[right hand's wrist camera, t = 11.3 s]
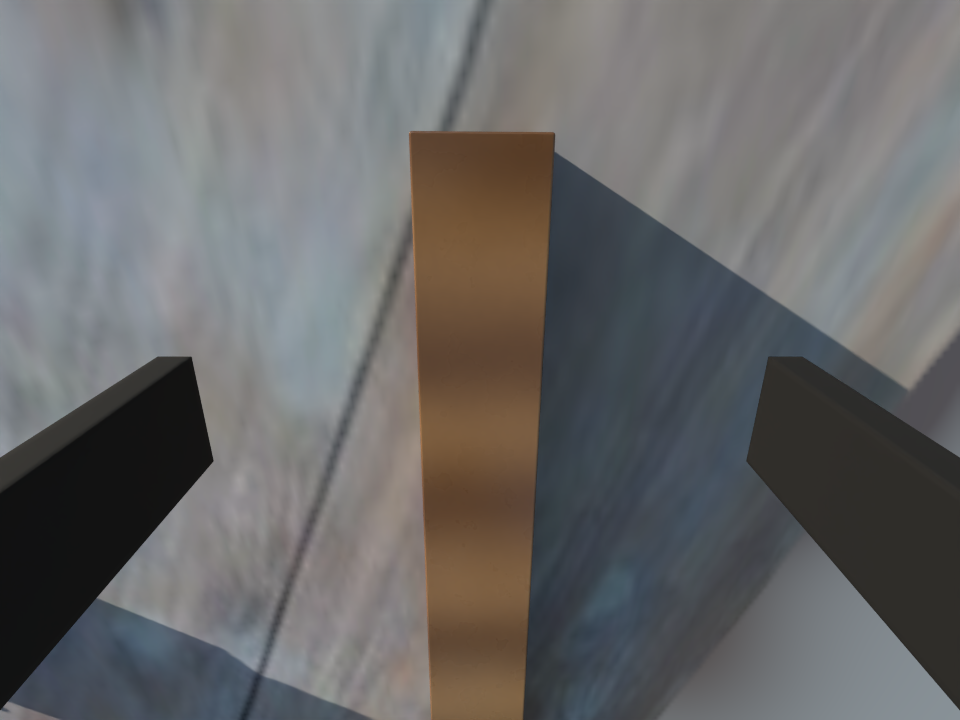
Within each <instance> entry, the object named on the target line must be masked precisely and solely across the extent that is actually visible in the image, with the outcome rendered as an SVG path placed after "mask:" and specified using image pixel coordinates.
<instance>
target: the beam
mask: <svg viewBox="0 0 960 720" xmlns="http://www.w3.org/2000/svg"><path fill="white" fill-rule="evenodd" d="M409 146H410V172H411V199H412V225H413V252H414V278H415V305H416V331H417V357H418V384H419V410H420V437H421V463H422V490H423V516H424V542H425V569H426V595H427V622H428V648H429V675H430V701H431V720H523V718H524V700H525V681H526V663H527V644H528V626H529V608H530V589H531V571H532V553H533V534H534V516H535V497H536V479H537V461H538V442H539V424H540V406H541V387H542V369H543V350H544V332H545V314H546V295H547V277H548V258H549V240H550V222H551V203H552V185H553V167H554V148H555V133H553V132H452V131H411V132H410V133H409Z"/></svg>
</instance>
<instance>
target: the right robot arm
mask: <svg viewBox="0 0 960 720" xmlns="http://www.w3.org/2000/svg"><path fill="white" fill-rule="evenodd" d="M212 462H213V456H212V451H211V447H210V442H209V437H208V432H207V428H206V423H205V418H204V414H203V409H202V404H201V399H200V395H199V390H198V385H197V381H196V376H195V371H194V366H193V362H192V357H157V358H155V359H153V360H152V361H150V362H149V363H147V364H146V365H144V366H142V367H141V368H139V369H138V370H136V371H135V372H133V373H132V374H130V375H128V376H127V377H125V378H124V379H122V380H121V381H119V382H118V383H116V384H114V385H113V386H111V387H110V388H108V389H107V390H105V391H103V392H102V393H100V394H99V395H97V396H96V397H94V398H93V399H91V400H89V401H88V402H86V403H85V404H83V405H82V406H80V407H79V408H77V409H75V410H74V411H72V412H71V413H69V414H68V415H66V416H64V417H63V418H61V419H60V420H58V421H57V422H55V423H54V424H52V425H50V426H49V427H47V428H46V429H44V430H43V431H41V432H39V433H38V434H36V435H35V436H33V437H32V438H30V439H29V440H27V441H25V442H24V443H22V444H21V445H19V446H18V447H16V448H15V449H13V450H11V451H10V452H8V453H7V454H5V455H4V456H2V457H0V710H1V709H2V707H3V706H4V705H5V704H6V703H7V702H8V700H9V699H10V698H11V697H12V696H13V695H14V693H15V692H16V691H17V690H18V689H19V688H20V686H21V685H22V684H23V683H24V682H25V681H26V679H27V678H28V677H29V676H30V675H31V674H32V672H33V671H34V670H35V669H36V668H37V667H38V665H39V664H40V663H41V662H42V661H43V660H44V658H45V657H46V656H47V655H48V654H49V653H50V651H51V650H52V649H53V648H54V647H55V646H56V644H57V643H58V642H59V641H60V640H61V639H62V637H63V636H64V635H65V634H66V633H67V632H68V630H69V629H70V628H71V627H72V626H73V625H74V623H75V622H76V621H77V620H78V619H79V618H80V616H81V615H82V614H83V613H84V612H85V611H86V609H87V608H88V607H89V606H90V605H91V604H92V602H93V601H94V600H95V599H96V598H97V597H98V595H99V594H100V593H101V592H102V591H103V590H104V588H105V587H106V586H107V585H108V584H109V583H110V581H111V580H112V579H113V578H114V577H115V576H116V574H117V573H118V572H119V571H120V570H121V569H122V567H123V566H124V565H125V564H126V563H127V562H128V560H129V559H130V558H131V557H132V556H133V555H134V553H135V552H136V551H137V550H138V549H139V548H140V546H141V545H142V544H143V543H144V542H145V541H146V539H147V538H148V537H149V536H150V535H151V534H152V532H153V531H154V530H155V529H156V528H157V527H158V525H159V524H160V523H161V522H162V521H163V520H164V518H165V517H166V516H167V515H168V514H169V513H170V511H171V510H172V509H173V508H174V507H175V506H176V504H177V503H178V502H179V501H180V500H181V499H182V497H183V496H184V495H185V494H186V493H187V492H188V490H189V489H190V488H191V487H192V486H193V485H194V483H195V482H196V481H197V480H198V479H199V478H200V476H201V475H202V474H203V473H204V472H205V471H206V469H207V468H208V467H209V466H210V465H211V464H212ZM747 462H748V464H749V465H750V466H751V467H752V468H753V469H754V471H755V472H756V473H757V474H758V475H759V476H760V478H761V479H762V480H763V481H764V482H765V483H766V485H767V486H768V487H769V488H770V489H771V490H772V492H773V493H774V494H775V495H776V496H777V497H778V499H779V500H780V501H781V502H782V503H783V504H784V506H785V507H786V508H787V509H788V510H789V511H790V513H791V514H792V515H793V516H794V517H795V518H796V520H797V521H798V522H799V523H800V524H801V525H802V527H803V528H804V529H805V530H806V531H807V532H808V534H809V535H810V536H811V537H812V538H813V539H814V541H815V542H816V543H817V544H818V545H819V546H820V548H821V549H822V550H823V551H824V552H825V553H826V554H827V556H828V557H829V558H830V559H831V560H832V562H833V563H834V564H835V565H836V566H837V567H838V569H839V570H840V571H841V572H842V573H843V574H844V576H845V577H846V578H847V579H848V580H849V581H850V583H851V584H852V585H853V586H854V587H855V588H856V590H857V591H858V592H859V593H860V594H861V595H862V597H863V598H864V599H865V600H866V601H867V602H868V604H869V605H870V606H871V607H872V608H873V609H874V611H875V612H876V613H877V614H878V615H879V616H880V618H881V619H882V620H883V621H884V622H885V623H886V624H887V626H888V627H889V628H890V629H891V630H892V632H893V633H894V634H895V635H896V636H897V637H898V639H899V640H900V641H901V642H902V643H903V644H904V646H905V647H906V648H907V649H908V650H909V651H910V653H911V654H912V655H913V656H914V657H915V658H916V660H917V661H918V662H919V663H920V664H921V665H922V667H923V668H924V669H925V670H926V671H927V672H928V674H929V675H930V676H931V677H932V678H933V679H934V681H935V682H936V683H937V684H938V685H939V686H940V688H941V689H942V690H943V691H944V692H945V693H946V695H947V696H948V697H949V698H950V699H951V700H952V702H953V703H954V704H955V705H956V706H957V707H958V709H959V710H960V458H959V457H958V456H956V455H955V454H953V453H952V452H950V451H949V450H947V449H945V448H944V447H942V446H941V445H939V444H938V443H936V442H934V441H933V440H931V439H930V438H928V437H927V436H925V435H924V434H922V433H921V432H919V431H917V430H916V429H914V428H913V427H911V426H910V425H908V424H906V423H905V422H903V421H902V420H900V419H899V418H897V417H896V416H894V415H892V414H891V413H889V412H888V411H886V410H885V409H883V408H881V407H880V406H878V405H877V404H875V403H874V402H872V401H871V400H869V399H867V398H866V397H864V396H863V395H861V394H860V393H858V392H857V391H855V390H853V389H852V388H850V387H849V386H847V385H846V384H844V383H842V382H841V381H839V380H838V379H836V378H835V377H833V376H832V375H830V374H828V373H827V372H825V371H824V370H822V369H821V368H819V367H818V366H816V365H814V364H813V363H811V362H810V361H808V360H807V359H805V358H803V357H768V362H767V366H766V371H765V376H764V381H763V385H762V390H761V395H760V399H759V404H758V409H757V414H756V418H755V423H754V428H753V432H752V437H751V442H750V447H749V451H748V456H747Z"/></svg>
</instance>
